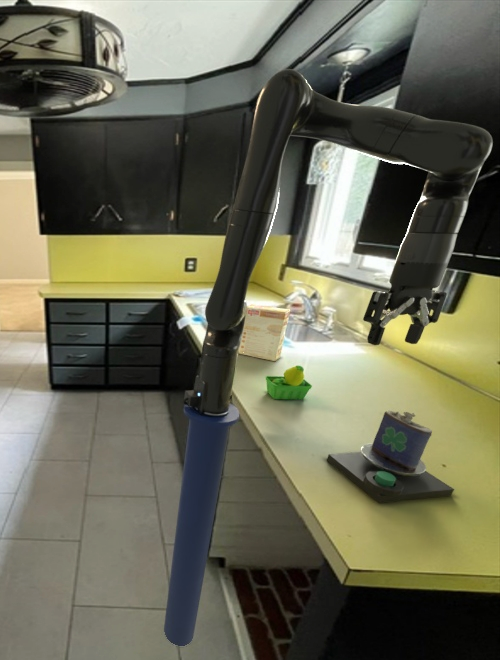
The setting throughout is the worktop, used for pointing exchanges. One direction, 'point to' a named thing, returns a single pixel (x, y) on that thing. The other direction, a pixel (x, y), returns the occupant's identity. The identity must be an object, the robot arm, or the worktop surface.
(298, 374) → the fruit basket
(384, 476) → the tare button
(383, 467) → the scale pan
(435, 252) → the robot arm
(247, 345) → the coffeecake box
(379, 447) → the flask
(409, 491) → the scale
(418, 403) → the worktop surface
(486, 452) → the worktop surface
